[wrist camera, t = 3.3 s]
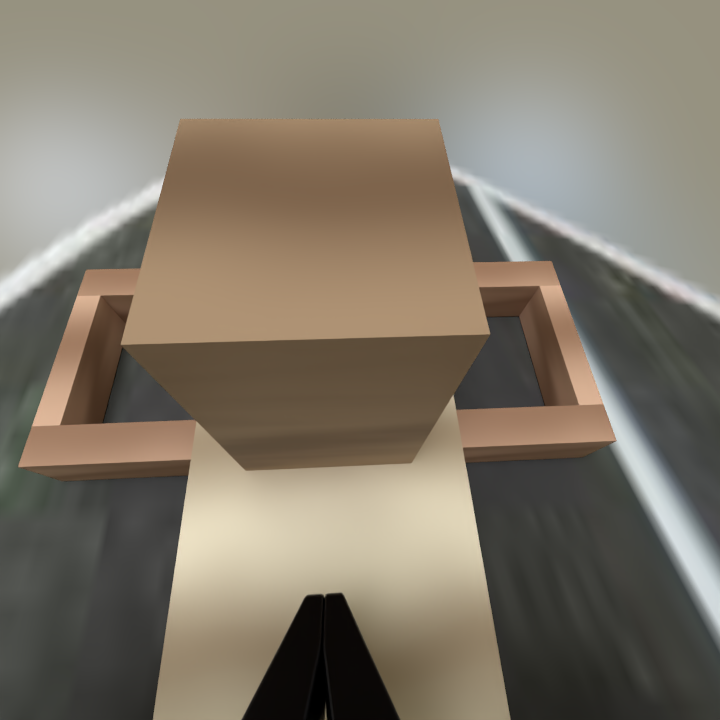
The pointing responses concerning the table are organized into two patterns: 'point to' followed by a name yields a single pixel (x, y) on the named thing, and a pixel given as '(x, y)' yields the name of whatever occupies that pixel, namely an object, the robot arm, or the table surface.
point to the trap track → (324, 515)
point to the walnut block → (309, 288)
